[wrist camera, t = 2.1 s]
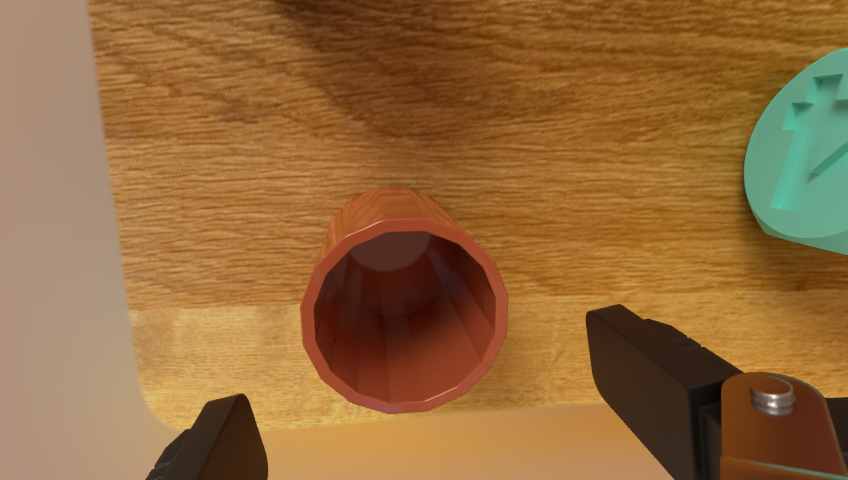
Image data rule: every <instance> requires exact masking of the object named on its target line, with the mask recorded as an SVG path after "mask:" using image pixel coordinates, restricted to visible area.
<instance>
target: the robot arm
mask: <svg viewBox="0 0 848 480" xmlns="http://www.w3.org/2000/svg"><path fill="white" fill-rule="evenodd" d="M586 328H587V336H588V344H589V351H590V359H591V367H592V374H593V378H594V381H595V384H596V386H597V389H598V391H599V393H600V395H601V396H602V398H603V399H604V400H605V401H606V402H607V403H608V405H609V406H610V407H611V408H612V409H613V410H614V411H615V412H616V414H617V415H618V416H619V417H620V418H621V419H622V420H623V422H624V423H625V424H626V425H627V426H628V427H629V428H630V430H631V431H632V432H633V433H634V434H635V435H636V436H637V438H638V439H639V440H640V441H641V442H642V443H643V444H644V445H645V447H646V448H647V449H648V450H649V451H650V452H651V453H652V455H654V457H655V458H656V459H657V460H658V461H659V463H660V464H661V465H662V466H663V467H664V468H665V469H666V470H667V472H668V473H669V474H670V475H671V476H672V477H673V478H674V480H848V397H842V398H824V396H823V395H822V394H821V393H820V392H819V391H818V390H817V389H816V388H814V387H813V386H811V385H809V384H807V383H805V382H803V381H801V380H798V379H796V378H793V377H789V376H786V375H781V374H776V373H768V372H749V373H744V372H742V371H741V370H739V369H738V368H736V367H734V366H733V365H731V364H730V363H728V362H727V361H725V360H724V359H722V358H720V357H719V356H717V355H716V354H714V353H713V352H711V351H710V350H708V349H706V348H705V347H701V345H700V344H699V343H697V342H696V341H694V340H692V339H691V338H687V336H686V335H685V334H683V333H682V332H680V331H678V330H677V329H675V328H674V327H672V326H671V325H667V324H664V323H661V322H658V321H654V320H651V319H644V320H643V319H642V318H640V317H639V316H637V315H636V314H634V313H633V312H631V311H630V310H628V309H627V308H626V307H624V306H623V305H621V304H617V305H613V306H608V307H604V308H600V309H596V310H592V311H588V312H587V314H586ZM267 478H268V463H267V456H266V452H265V449H264V445H263V443H262V439H261V436H260V433H259V430H258V427H257V424H256V421H255V418H254V415H253V412H252V409H251V406H250V403H249V400H248V398H247V397H246V396H245V395H244V394H242V393H241V394H237V395H233V396H229V397H225V398H220V399H216V400H212V401H208V402H207V403H206V404H205V406H204V408H203V409H202V411H201V413H200V414H199V416H198V418H197V419H196V421H195V423H194V424H193V426H192V428H191V429H187V430H185V431H184V432H182V433H181V434H180V435H179V436H178V437H177V438H176V439H175V440H174V441H173V442H172V443H170V444H169V445H168V446H167V447H166V448H165V450H164V451H163V453H162V455H161V456H160V458H159V460H158V461H157V463H156V464H155V469H153V470H151V472H150V474H149V475H148V477H147V478H146V480H267Z"/></svg>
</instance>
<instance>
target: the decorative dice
mask: <svg viewBox="0 0 848 480" xmlns="http://www.w3.org/2000/svg"><path fill="white" fill-rule="evenodd" d="M744 183H745V190H746V194H747V198H748V202H749V205H750V207H751V210H752V212H753V214H754V216H755V218H756V220H757V222H758V224H759V225H760V227H761V228H762V230H763V231H764V233H766V234H768V235H771V236H774V237H778V238H781V239H785V240H788V241H792V242H796V243H800V244H804V245H808V246H812V247H816V248H820V249H824V250H828V251H832V252H837V253H841V254H845V255H848V47H846V48H842V49H839V50H836V51H833V52H831V53H828V54H827V55H825V56H823V57H822V58H820V59H819V60H817V61H816V62H814V63H812V64H811V65H809V66H808V67H807V68H805V69H804V70H803V71H802V72H800V73H799V74H798V75H796V76H795V77H794V78H793V79H792V80H791V81H790V82H789V83H787V84H786V85H785V86H784V87H783V88H782V89H781V90H780V91H779V93H778V94H777V95H776V96H775V97H774V98H773V100H772V101H771V102H770V103H769V105H768V106H767V108H766V109H765V111H764V112H763V114H762V115H761V117H760V119H759V120H758V122H757V124H756V126H755V128H754V131H753V133H752V135H751V138H750V141H749V144H748V148H747V151H746V156H745V163H744Z"/></svg>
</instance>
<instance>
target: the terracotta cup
mask: <svg viewBox="0 0 848 480" xmlns="http://www.w3.org/2000/svg"><path fill="white" fill-rule="evenodd" d="M300 313H301V328H302V343H303V347H304V349H305V350H306V352H307V354H308V356H309V358H310V360H311V362H312V363H313V365H314V367H315V369H316V371H317V373H318V374H319V376H320V378H321V379H322V380H323V381H324V382H325V383H326V384H328V385H329V386H330V387H332V388H333V389H334V390H335V391H337V392H338V393H339V394H341V395H342V396H343V397H344V398H346V399H347V400H348V401H349V402H351V403H353V404H356V405H359V406H363V407H366V408H370V409H373V410H377V411H380V412H383V413H387V414H396V413H410V412H423V411H427V410H428V411H429V410H432V409H434V408H436V407H438V406H441V405H443V404H445V403H447V402H450V401H452V400H454V399H456V398H458V397H461V396H463V395H464V394H465V393H466V392H467V391H468V390H469V389H470V388H471V387H472V386H473V385H474V384H476V383H477V382H478V381H479V380H480V379H481V378H482V377H483V376H484V375H485V374H486V373H487V372H488V371H489V370H490V368H491V367H492V365H493V363H494V361H495V359H496V356H497V354H498V352H499V350H500V348H501V346H502V343H503V341H504V339H505V337H506V333H507V317H508V294H507V291H506V289H505V286H504V284H503V281H502V279H501V276H500V274H499V271H498V269H497V266H496V264H495V262H494V260H493V259H492V258H491V257H490V256H489V255H488V254H487V253H486V252H485V251H484V250H483V249H482V248H481V247H480V245H479V244H478V243H477V242H476V241H475V240H474V239H473V238H472V237H471V236H470V235H469V234H468V233H467V232H466V231H465V230H464V229H463V228H462V227H461V226H460V225H459V224H458V223H457V222H456V221H455V220H454V219H453V218H452V217H451V216H450V215H449V214H448V213H447V212H446V211H445V210H444V209H443V208H442V207H441V206H440V205H439V204H438V203H437V202H436V201H435V200H434V199H432V198H430V197H428V196H426V195H424V194H422V193H420V192H418V191H415V190H412V189H408V188H402V187H383V188H378V189H373V190H371V191H368V192H365V193H363V194H361V195H359V196H357V197H355V198H354V199H353V200H351V201H350V202H348V203H347V204H346V205H345V206H344V207H343V208H342V209H341V210H340V211H339V212H338V214H337V215H336V216H335V218H334V219H333V220H332V221H331V223H330V226H329V228H328V231H327V234H326V236H325V239H324V242H323V244H322V247H321V250H320V253H319V255H318V258H317V261H316V264H315V266H314V269H313V272H312V274H311V277H310V280H309V283H308V285H307V288H306V291H305V293H304V296H303V299H302V302H301V306H300Z"/></svg>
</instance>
